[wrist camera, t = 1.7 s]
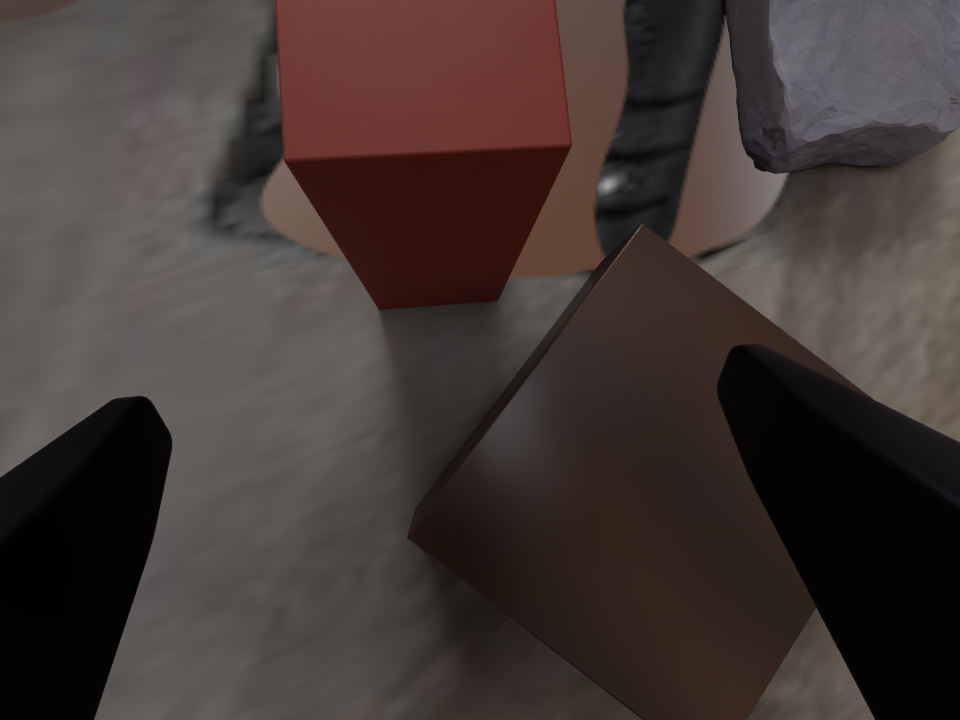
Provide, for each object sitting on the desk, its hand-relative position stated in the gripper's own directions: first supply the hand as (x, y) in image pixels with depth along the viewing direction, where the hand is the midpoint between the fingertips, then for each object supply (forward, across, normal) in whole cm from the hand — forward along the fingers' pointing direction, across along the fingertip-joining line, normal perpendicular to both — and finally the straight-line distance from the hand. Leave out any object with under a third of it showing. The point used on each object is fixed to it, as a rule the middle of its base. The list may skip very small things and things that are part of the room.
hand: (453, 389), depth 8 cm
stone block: (+20, -19, -1) cm, 27 cm away
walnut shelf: (+7, -7, +12) cm, 15 cm away
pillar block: (+14, 0, +4) cm, 15 cm away
